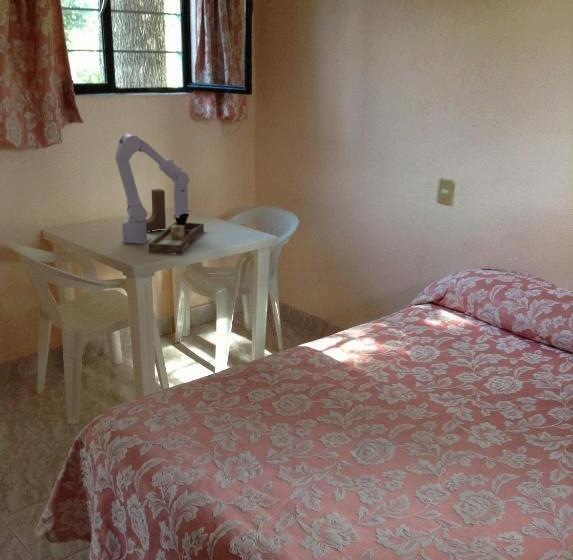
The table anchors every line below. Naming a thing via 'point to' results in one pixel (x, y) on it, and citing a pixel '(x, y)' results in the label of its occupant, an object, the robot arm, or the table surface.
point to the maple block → (177, 231)
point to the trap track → (176, 239)
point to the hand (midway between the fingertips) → (181, 230)
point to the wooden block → (157, 211)
